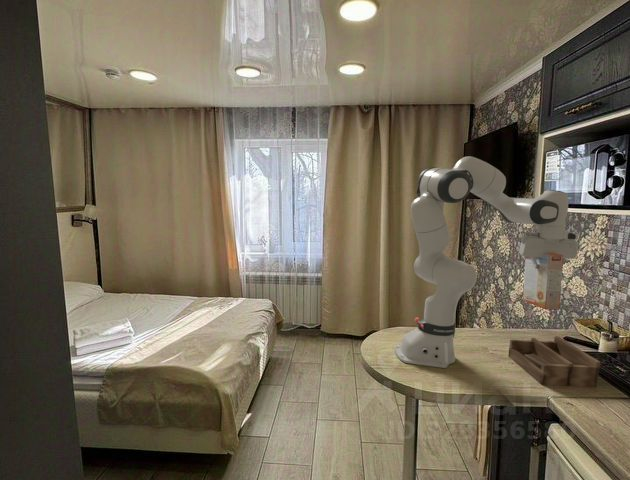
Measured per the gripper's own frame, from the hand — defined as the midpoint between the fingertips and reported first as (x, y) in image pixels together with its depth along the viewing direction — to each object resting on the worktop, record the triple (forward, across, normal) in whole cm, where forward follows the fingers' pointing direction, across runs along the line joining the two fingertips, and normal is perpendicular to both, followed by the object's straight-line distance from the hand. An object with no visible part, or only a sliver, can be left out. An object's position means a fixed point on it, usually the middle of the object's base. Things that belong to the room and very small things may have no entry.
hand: (545, 268), depth 133 cm
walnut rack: (+35, -4, -15) cm, 38 cm away
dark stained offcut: (+32, -8, -15) cm, 36 cm away
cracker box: (+15, 0, 0) cm, 15 cm away
